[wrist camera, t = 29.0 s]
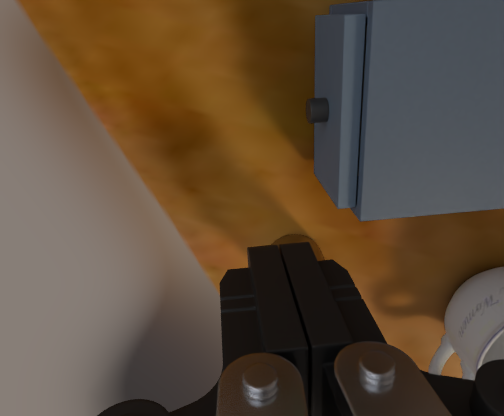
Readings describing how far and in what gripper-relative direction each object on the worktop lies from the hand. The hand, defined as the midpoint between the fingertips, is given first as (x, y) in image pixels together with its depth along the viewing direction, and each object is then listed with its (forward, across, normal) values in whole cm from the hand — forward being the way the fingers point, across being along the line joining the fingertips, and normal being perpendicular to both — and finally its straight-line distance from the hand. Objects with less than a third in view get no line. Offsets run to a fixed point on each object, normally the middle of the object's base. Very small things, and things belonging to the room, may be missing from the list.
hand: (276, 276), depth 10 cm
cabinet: (+23, -15, 0) cm, 27 cm away
